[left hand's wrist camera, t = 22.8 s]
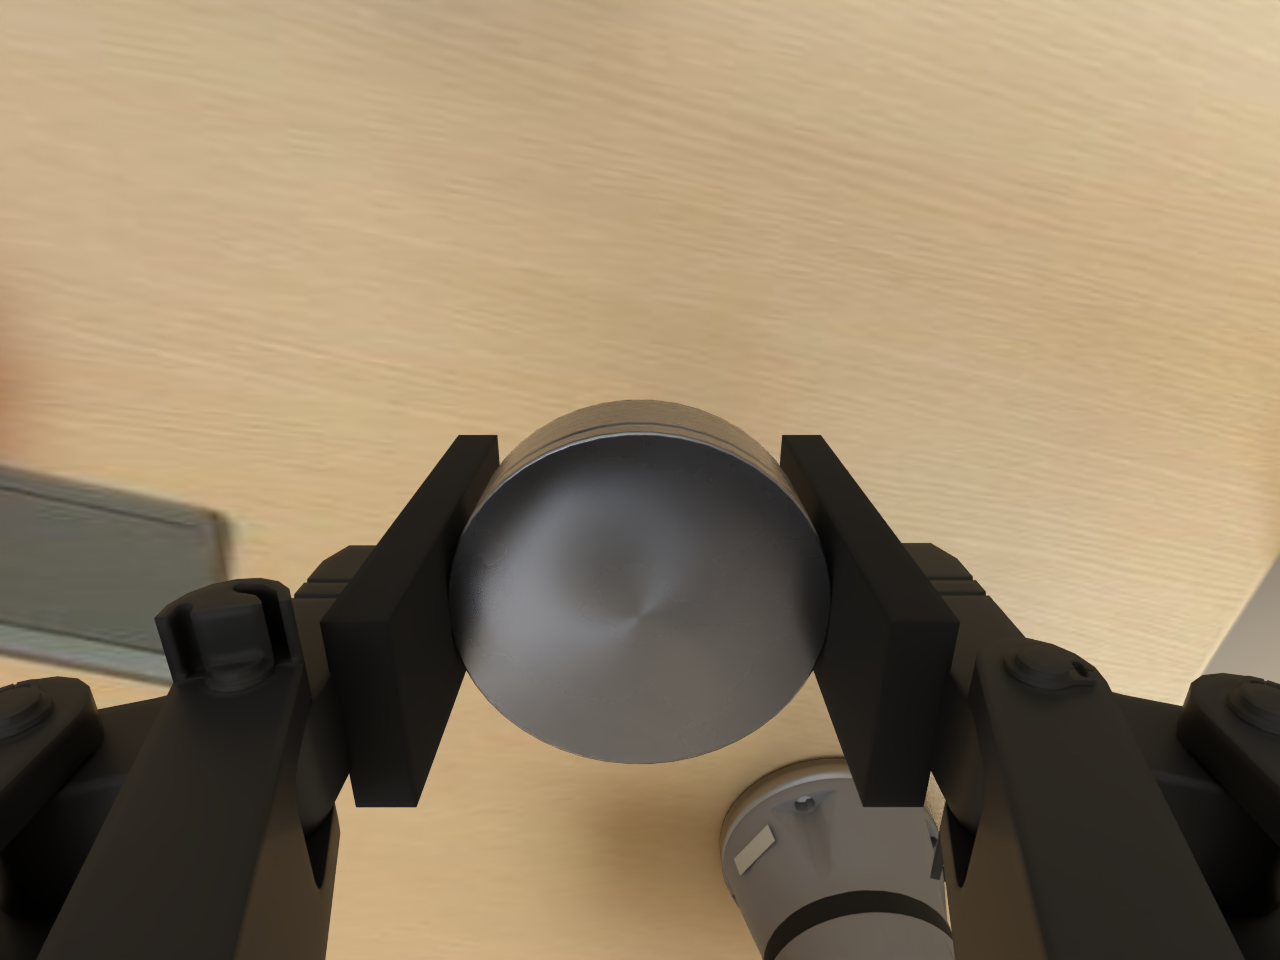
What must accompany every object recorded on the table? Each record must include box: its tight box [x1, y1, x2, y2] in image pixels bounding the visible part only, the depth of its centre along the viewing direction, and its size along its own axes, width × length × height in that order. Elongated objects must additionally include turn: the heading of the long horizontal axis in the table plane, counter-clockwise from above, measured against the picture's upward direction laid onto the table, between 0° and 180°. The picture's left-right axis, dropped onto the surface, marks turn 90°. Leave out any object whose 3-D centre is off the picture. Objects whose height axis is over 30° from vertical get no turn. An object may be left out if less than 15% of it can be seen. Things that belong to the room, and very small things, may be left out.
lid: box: [447, 400, 832, 764], centre depth 11 cm, size 6×6×2 cm
